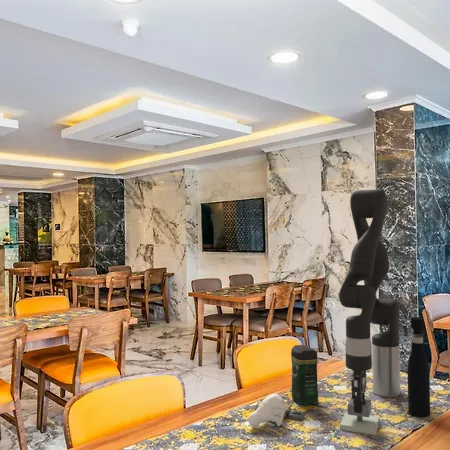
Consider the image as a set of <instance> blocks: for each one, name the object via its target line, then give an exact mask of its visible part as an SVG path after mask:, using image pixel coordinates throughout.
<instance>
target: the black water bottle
mask: <svg viewBox="0 0 450 450" xmlns="http://www.w3.org/2000/svg"><path fill="white" fill-rule="evenodd" d="M410 328H411V329H412V331H413V332H412V337H411V343H410V346H411V351H410V354H409V357H408V361H407V368H406V370H407V411H408V414H409V415H410V416H412V417H416V418H422V419H423V418H429V417H430V416H431V388H430V387H431V386H430V385H431V384H430V382H431V381H430V380H431V379H430V366H429V361H428V359H427V355H426V353H425V343H424V337H423V330H425V319H424V317H419V316H412V317H410Z"/></svg>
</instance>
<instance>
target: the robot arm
mask: <svg viewBox="0 0 450 450" xmlns="http://www.w3.org/2000/svg"><path fill="white" fill-rule="evenodd" d="M349 199H350V200H349V204H350V212H351V216H352V220H353V225H354V229H355V233H356V238H357V241H356V243H355V245H354V246H353V248H352V250H351V253H350V254H351V256H350V260H349V267H348V268H349V269H348V272H347V274H346V276H345V278H344V280H343V282H342V285H341V286H340V288H339V293H338V300H339V303H340V305H342V306H343V307H344V308H347V309H348V308H349V309H359V310H361V312H360V314H358V315H357V314H356V315H350V316H348V317H346V319H345V343H344V344H345V348H344V349H345V351H344V352H345V367H346V368H347V369H349V370H351V371H353V372H352V374H351V375H350V376H351V377H350V378H351V380H350V383H351V398H352V399H353V400H354V412H355V413H362V399H366V395H365V393H366V392H367V391H366V390H367V378H368V377H367V371H370V370H372V393H374V394H375V395H377V396H380V397H385V398H386V397H387V398H390V397H391V398H394V397H395V398H396V397H399V396H400V395H401V367H400V365H401V363H400V362H401V360H400V359H401V358H400V311H401V310H400V309H401V308H400V304H399V301H398V300H396V299H392V298H391V299H390V298H389V299H388V298H378V297H377V292H378V290H379V288H380V286H381V285H382V282H383V281H384V280H385V279H386V277H387V275H388V273H389V271H390V261H389V253H388V249H387V248H386V246H385V244H384V243H383V242H382V241H381V239H380V237H381V234H382V230H383V227H384V224H385V220H386V216H387V212H388V196H387V193H386V191H385V190H383V189H356V190H354V191H353V192H352V193H351V195H350V198H349ZM367 219H372V220H371V222H370V225H369V223H368V221H367ZM362 281H363V283H364V284H358V283H359V282H362ZM372 324H373V325H378V326H379V325H380V326H388V329H387V330H385V331H383V332H379V333H375V334H373V335H372V336H371V325H372Z"/></svg>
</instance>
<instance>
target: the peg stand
mask: <svg viewBox="0 0 450 450" xmlns="http://www.w3.org/2000/svg"><path fill="white" fill-rule="evenodd" d="M379 424H380V416H376V415H370V416H369V417H362V416H354V415H348V411H345V412H344V414H343V416H342V419H341V421H340V423H339V430H342V431H347V432H353V433H358V434H359V433H360V434H366V435H373V436H376V435H377V431H378V429H379V428H378V427H379Z"/></svg>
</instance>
